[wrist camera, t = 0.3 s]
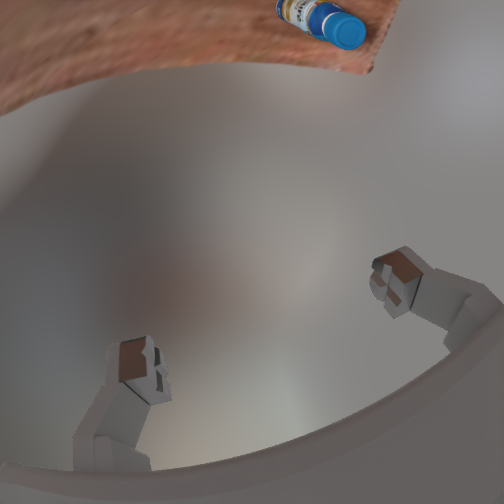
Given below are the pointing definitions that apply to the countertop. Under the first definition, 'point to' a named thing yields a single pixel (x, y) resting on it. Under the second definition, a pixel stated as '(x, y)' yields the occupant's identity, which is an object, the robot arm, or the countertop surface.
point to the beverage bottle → (323, 21)
